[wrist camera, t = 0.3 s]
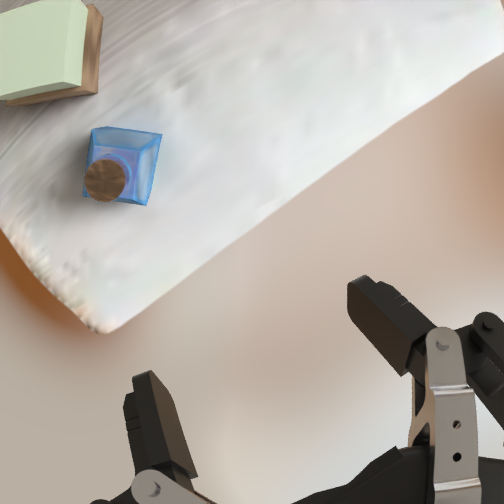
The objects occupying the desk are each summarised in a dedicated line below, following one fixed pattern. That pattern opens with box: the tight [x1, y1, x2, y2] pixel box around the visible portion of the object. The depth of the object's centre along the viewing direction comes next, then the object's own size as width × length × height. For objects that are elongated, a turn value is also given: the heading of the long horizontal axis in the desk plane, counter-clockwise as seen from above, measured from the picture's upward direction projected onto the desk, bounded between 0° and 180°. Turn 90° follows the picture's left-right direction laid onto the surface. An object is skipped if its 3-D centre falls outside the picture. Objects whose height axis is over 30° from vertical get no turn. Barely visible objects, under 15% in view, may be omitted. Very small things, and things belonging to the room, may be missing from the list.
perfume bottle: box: [83, 126, 162, 206], centre depth 26 cm, size 6×6×12 cm
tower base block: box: [6, 4, 103, 106], centre depth 22 cm, size 9×9×5 cm
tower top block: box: [0, 0, 88, 100], centre depth 18 cm, size 8×8×5 cm
